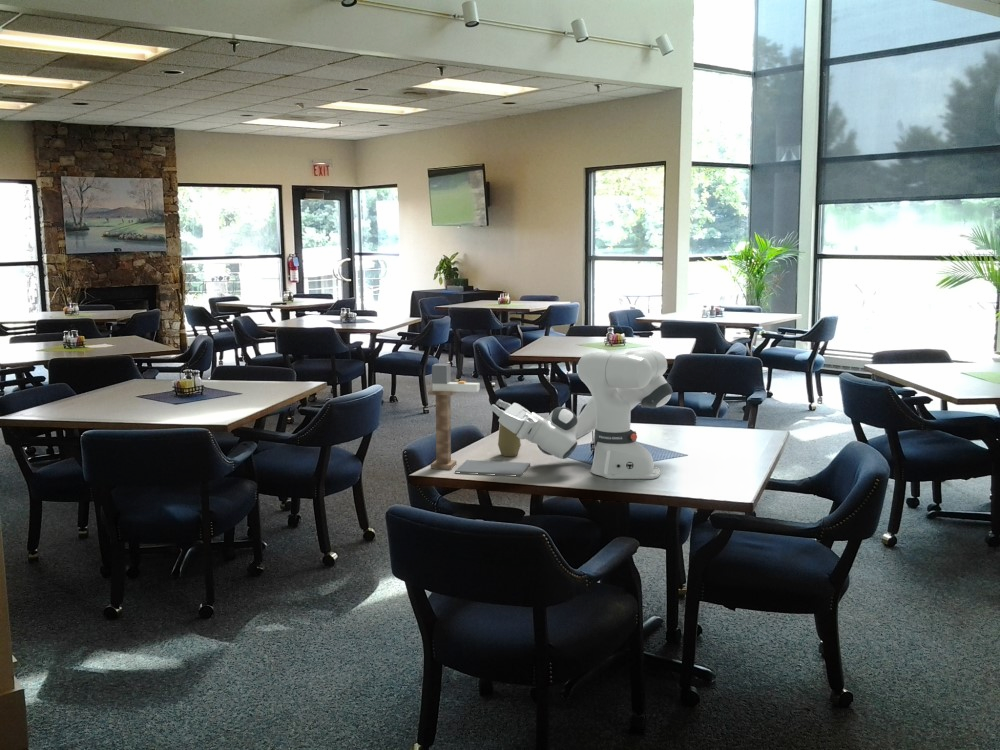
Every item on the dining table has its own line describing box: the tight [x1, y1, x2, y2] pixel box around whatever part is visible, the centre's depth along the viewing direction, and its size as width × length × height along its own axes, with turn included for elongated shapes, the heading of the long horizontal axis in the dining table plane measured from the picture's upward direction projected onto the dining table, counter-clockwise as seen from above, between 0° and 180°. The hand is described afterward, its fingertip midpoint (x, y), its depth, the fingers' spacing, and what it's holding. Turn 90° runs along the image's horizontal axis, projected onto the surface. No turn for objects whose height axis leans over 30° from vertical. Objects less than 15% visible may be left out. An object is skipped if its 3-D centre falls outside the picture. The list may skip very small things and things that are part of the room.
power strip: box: [431, 363, 481, 393], centre depth 307 cm, size 15×5×8 cm, turn 78°
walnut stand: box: [427, 388, 457, 470], centre depth 310 cm, size 8×8×26 cm
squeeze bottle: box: [497, 422, 522, 457], centre depth 329 cm, size 8×8×18 cm
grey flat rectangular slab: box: [454, 459, 531, 477], centre depth 309 cm, size 22×16×1 cm
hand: (494, 403), depth 306 cm, fingers open, 8 cm apart
